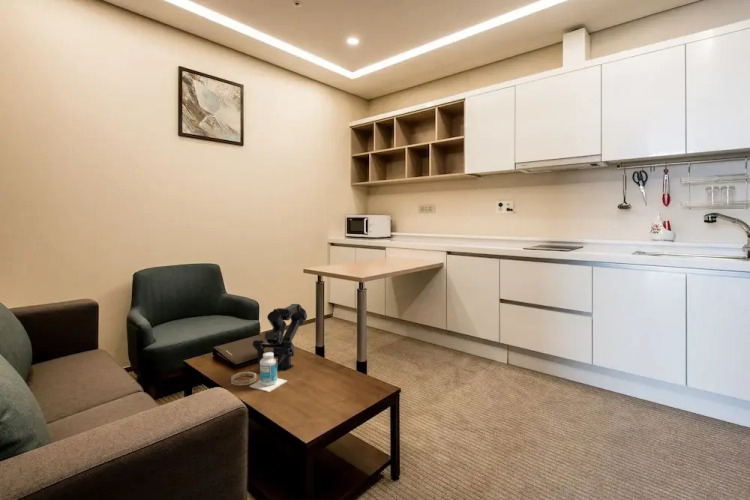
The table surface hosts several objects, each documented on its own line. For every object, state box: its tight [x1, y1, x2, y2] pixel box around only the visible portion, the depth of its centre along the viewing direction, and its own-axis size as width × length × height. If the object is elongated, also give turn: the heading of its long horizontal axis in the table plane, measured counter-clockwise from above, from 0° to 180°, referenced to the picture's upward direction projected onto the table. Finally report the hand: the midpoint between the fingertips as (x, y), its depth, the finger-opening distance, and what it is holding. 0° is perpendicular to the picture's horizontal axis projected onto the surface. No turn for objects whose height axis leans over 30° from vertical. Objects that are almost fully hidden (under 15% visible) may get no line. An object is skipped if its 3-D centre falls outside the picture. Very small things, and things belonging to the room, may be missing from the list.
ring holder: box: [230, 371, 258, 387], centre depth 171 cm, size 11×11×2 cm
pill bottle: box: [259, 351, 278, 386], centre depth 167 cm, size 8×7×14 cm
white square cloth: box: [249, 377, 288, 393], centre depth 167 cm, size 12×11×1 cm
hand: (268, 363), depth 166 cm, fingers open, 9 cm apart
